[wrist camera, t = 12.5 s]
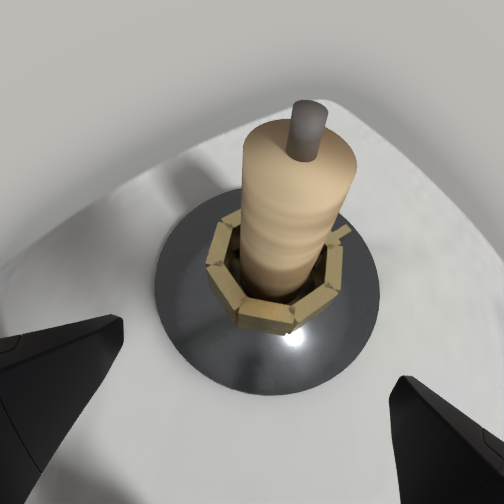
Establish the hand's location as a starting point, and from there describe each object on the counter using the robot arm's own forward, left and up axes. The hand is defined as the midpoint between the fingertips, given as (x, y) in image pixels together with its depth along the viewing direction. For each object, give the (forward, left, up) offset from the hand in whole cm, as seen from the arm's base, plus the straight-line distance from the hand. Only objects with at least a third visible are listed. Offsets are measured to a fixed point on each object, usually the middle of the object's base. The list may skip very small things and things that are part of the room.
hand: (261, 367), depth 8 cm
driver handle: (+5, +5, -10) cm, 12 cm away
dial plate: (+5, +5, -11) cm, 13 cm away
